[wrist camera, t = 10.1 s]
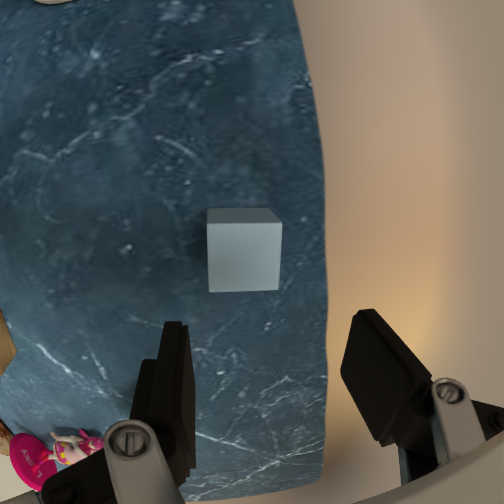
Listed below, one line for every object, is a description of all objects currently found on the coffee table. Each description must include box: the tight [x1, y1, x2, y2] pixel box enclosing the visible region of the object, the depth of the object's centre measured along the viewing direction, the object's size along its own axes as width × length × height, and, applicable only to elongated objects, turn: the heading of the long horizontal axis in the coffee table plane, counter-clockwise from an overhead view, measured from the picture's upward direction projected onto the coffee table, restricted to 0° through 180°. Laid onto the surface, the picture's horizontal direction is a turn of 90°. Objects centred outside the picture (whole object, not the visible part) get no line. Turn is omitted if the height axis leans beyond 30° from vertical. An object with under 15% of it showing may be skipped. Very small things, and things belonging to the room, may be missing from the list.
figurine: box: [9, 429, 104, 491], centre depth 26 cm, size 10×10×15 cm
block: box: [207, 208, 282, 292], centre depth 20 cm, size 4×4×4 cm
